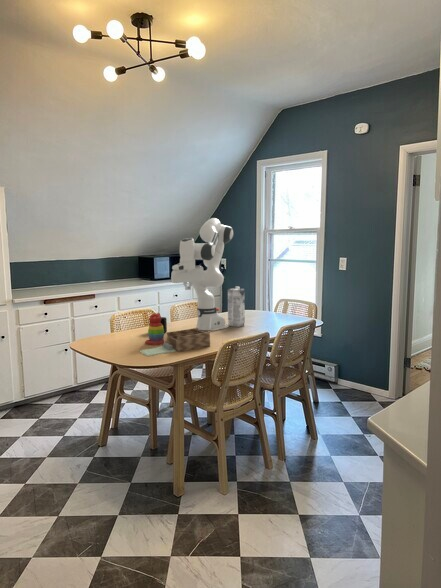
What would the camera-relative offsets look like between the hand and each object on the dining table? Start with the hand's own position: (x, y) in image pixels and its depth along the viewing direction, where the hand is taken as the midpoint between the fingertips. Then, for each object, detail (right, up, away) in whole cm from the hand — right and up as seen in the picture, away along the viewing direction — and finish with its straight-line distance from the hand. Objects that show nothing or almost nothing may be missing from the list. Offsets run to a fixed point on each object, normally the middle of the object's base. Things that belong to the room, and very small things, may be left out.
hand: (188, 289), depth 253 cm
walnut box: (+1, -32, -7) cm, 33 cm away
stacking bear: (-19, -32, +2) cm, 37 cm away
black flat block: (-21, -28, +27) cm, 44 cm away
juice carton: (+30, -25, +45) cm, 60 cm away
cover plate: (-15, -35, -16) cm, 41 cm away
